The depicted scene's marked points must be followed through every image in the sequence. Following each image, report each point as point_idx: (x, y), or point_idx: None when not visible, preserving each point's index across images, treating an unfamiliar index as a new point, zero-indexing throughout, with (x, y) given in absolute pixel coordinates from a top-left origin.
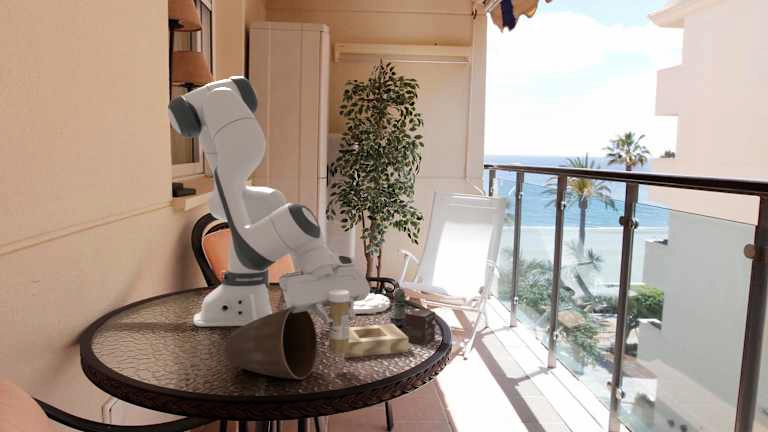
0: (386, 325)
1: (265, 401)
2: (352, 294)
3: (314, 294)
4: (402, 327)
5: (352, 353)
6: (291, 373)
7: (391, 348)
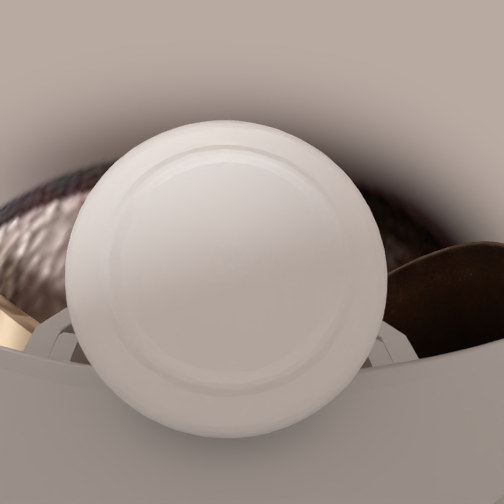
0: None
1: (443, 245)
2: (3, 350)
3: (472, 411)
4: None
5: None
6: (411, 261)
7: (21, 314)
